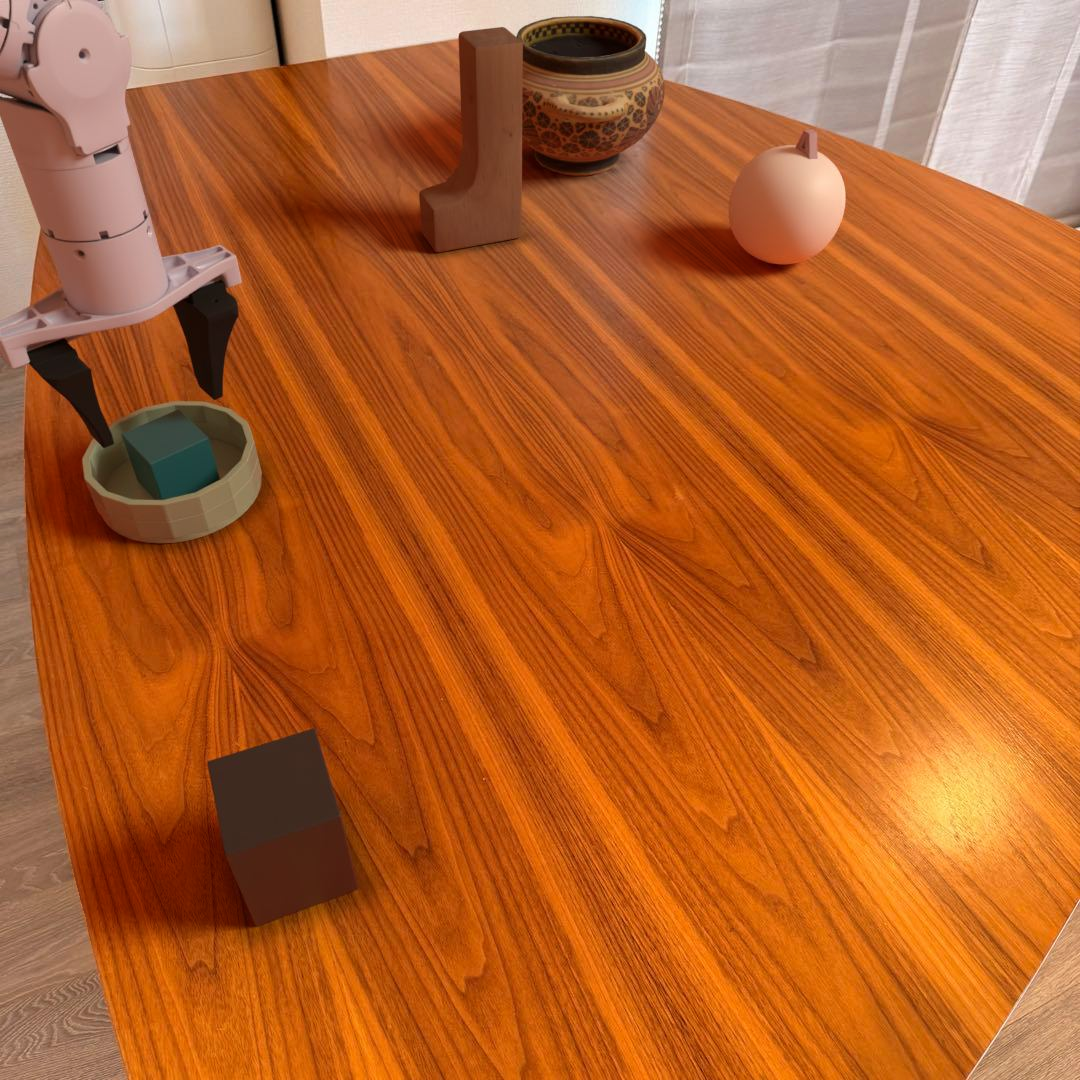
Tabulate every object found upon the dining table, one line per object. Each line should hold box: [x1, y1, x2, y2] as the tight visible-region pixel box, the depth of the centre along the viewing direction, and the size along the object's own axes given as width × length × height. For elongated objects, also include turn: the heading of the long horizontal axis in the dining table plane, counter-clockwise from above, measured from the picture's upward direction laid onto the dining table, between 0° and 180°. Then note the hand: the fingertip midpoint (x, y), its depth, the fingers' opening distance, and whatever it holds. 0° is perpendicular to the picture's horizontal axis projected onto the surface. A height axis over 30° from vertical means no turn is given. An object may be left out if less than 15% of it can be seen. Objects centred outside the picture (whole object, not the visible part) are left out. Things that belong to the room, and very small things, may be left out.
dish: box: [81, 400, 263, 544], centre depth 67 cm, size 11×11×4 cm
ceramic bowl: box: [515, 15, 666, 177], centre depth 104 cm, size 24×18×15 cm
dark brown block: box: [206, 727, 359, 927], centre depth 46 cm, size 5×5×7 cm
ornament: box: [728, 128, 847, 265], centre depth 89 cm, size 10×10×12 cm
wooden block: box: [418, 26, 523, 253], centre depth 89 cm, size 9×4×18 cm, turn 113°
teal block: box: [121, 410, 220, 500], centre depth 66 cm, size 4×4×4 cm
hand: (158, 414), depth 64 cm, fingers open, 7 cm apart
